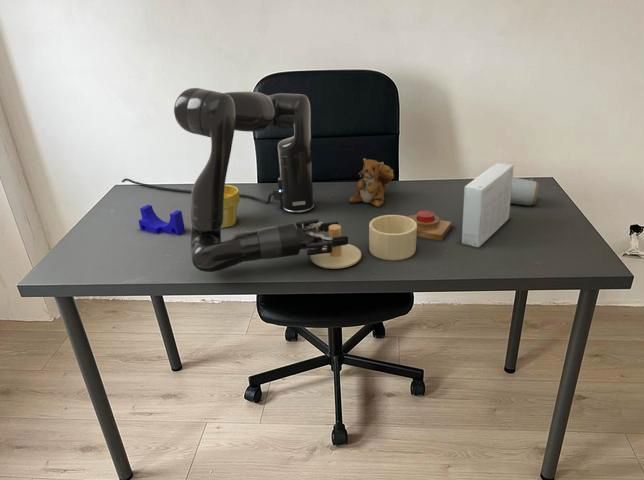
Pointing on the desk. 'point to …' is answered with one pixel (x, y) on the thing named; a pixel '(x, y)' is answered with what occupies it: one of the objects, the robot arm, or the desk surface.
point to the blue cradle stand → (160, 222)
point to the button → (425, 216)
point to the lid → (337, 253)
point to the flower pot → (230, 205)
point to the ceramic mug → (523, 191)
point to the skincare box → (486, 204)
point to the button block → (432, 228)
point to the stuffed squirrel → (372, 183)
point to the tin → (392, 237)
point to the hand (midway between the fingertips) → (342, 232)
